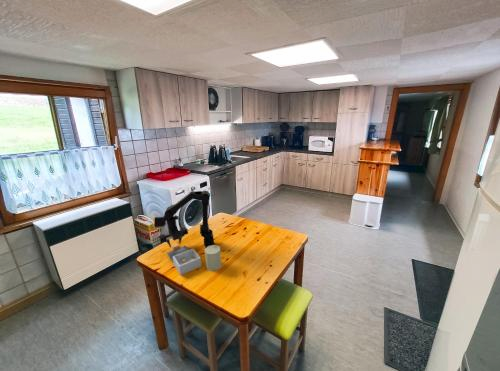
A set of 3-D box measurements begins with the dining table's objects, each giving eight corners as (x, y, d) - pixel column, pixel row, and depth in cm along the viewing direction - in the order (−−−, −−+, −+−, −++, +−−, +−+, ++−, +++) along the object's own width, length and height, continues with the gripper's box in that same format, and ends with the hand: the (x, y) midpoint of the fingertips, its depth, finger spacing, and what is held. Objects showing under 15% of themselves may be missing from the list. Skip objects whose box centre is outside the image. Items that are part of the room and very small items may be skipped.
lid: (183, 243, 156) (183, 240, 155) (192, 255, 144) (192, 251, 143) (164, 250, 149) (164, 247, 148) (173, 263, 136) (172, 259, 135)
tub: (193, 256, 142) (192, 248, 140) (201, 265, 133) (200, 257, 131) (173, 264, 134) (172, 256, 133) (180, 275, 125) (179, 266, 123)
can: (224, 262, 135) (222, 245, 132) (217, 272, 127) (215, 254, 123) (211, 259, 138) (209, 243, 134) (203, 268, 130) (201, 251, 126)
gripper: (161, 234, 134) (164, 256, 138) (190, 225, 144) (192, 245, 149) (156, 228, 142) (159, 248, 147) (183, 219, 153) (186, 239, 158)
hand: (175, 245), depth 150 cm, fingers open, 6 cm apart
